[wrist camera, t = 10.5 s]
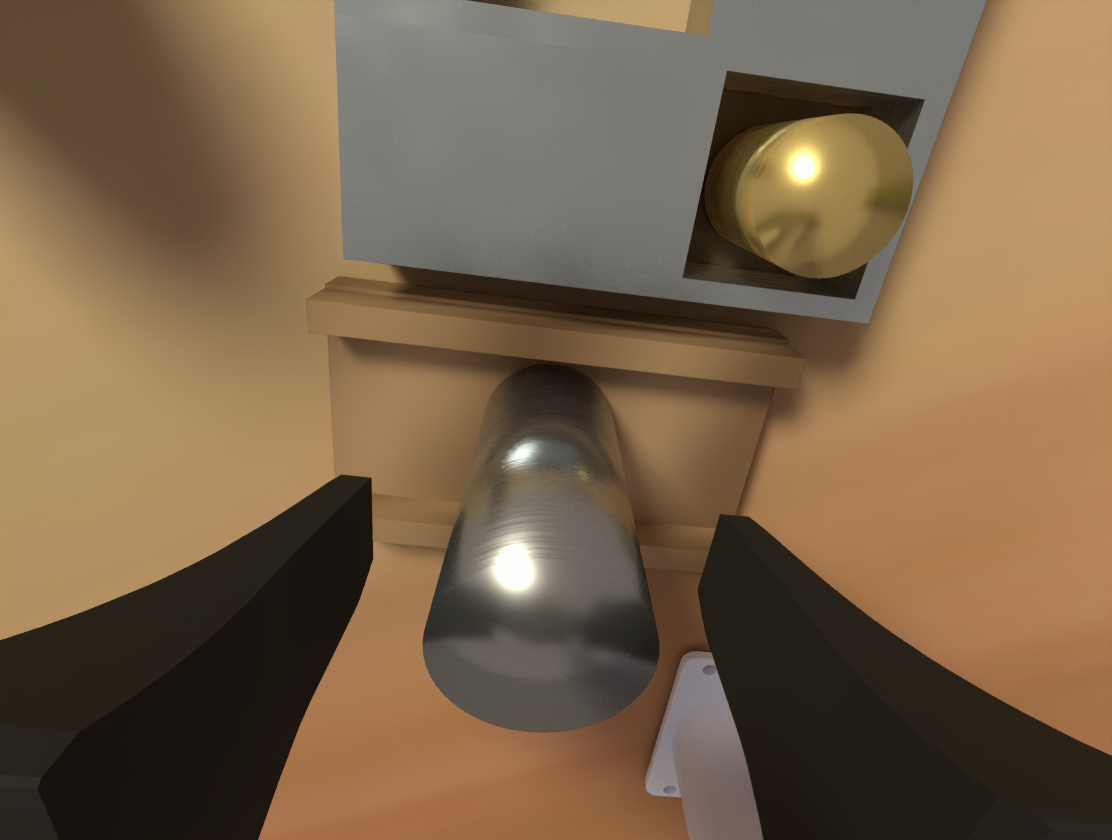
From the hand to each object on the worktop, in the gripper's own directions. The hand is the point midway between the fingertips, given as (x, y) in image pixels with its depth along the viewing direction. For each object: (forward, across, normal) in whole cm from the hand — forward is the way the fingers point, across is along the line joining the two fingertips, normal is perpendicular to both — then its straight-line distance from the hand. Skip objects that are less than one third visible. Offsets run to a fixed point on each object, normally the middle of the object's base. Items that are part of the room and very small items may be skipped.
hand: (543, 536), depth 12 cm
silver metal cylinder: (+5, 0, 0) cm, 5 cm away
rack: (+6, 0, 0) cm, 6 cm away
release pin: (+5, -5, -7) cm, 10 cm away
